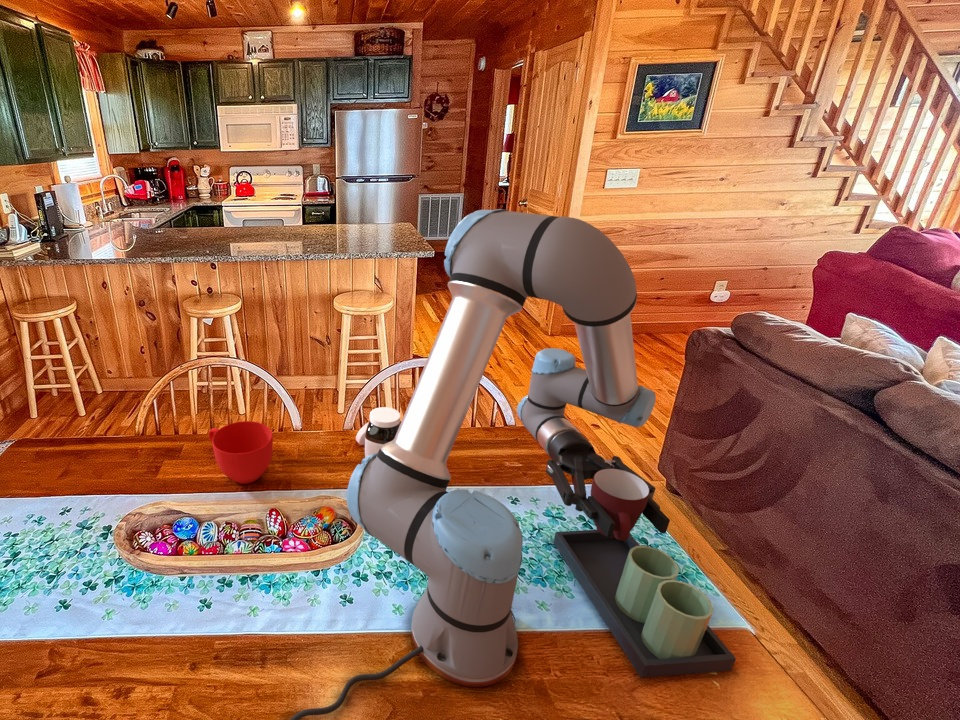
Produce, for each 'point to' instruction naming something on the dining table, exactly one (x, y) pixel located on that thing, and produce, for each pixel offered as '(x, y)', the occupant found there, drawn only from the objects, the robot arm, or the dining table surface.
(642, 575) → the cup
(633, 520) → the mug
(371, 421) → the spread jar
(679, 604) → the cup
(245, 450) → the ceramic cup
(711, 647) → the tray
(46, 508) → the dining table surface
